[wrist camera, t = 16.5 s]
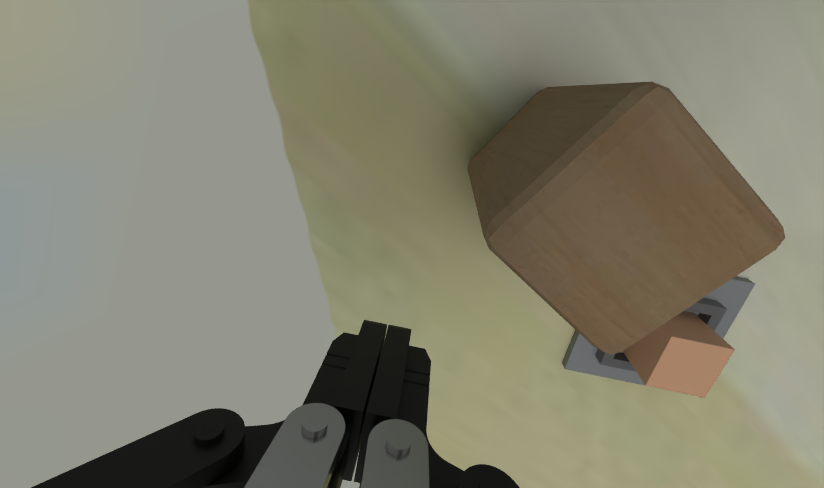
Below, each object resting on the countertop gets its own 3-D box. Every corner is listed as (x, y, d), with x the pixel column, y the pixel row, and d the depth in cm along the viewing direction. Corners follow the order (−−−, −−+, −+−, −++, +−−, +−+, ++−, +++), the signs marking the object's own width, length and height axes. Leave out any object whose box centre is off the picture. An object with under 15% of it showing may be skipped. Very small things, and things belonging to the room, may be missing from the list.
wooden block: (533, 235, 38) (612, 369, 20) (462, 166, 36) (476, 242, 18) (618, 162, 35) (808, 240, 17) (545, 82, 33) (666, 69, 15)
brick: (639, 301, 39) (671, 336, 33) (693, 312, 39) (734, 349, 33) (618, 345, 41) (645, 385, 35) (670, 356, 41) (704, 398, 35)
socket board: (607, 251, 38) (617, 261, 36) (747, 279, 38) (767, 291, 36) (562, 362, 43) (568, 378, 41) (685, 388, 43) (698, 404, 41)
